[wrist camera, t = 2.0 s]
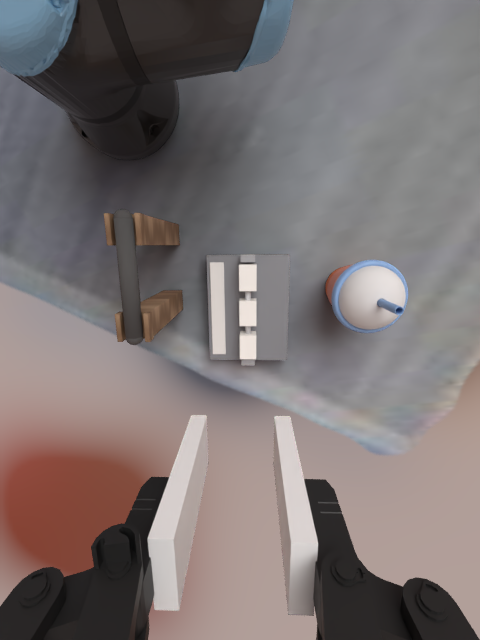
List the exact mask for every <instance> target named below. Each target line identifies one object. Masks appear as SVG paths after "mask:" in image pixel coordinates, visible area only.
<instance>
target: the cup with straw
mask: <svg viewBox="0 0 480 640" xmlns="http://www.w3.org/2000/svg"><path fill="white" fill-rule="evenodd" d="M325 290H326V294H327V297H328V299H329V301H330V303H331V305H332V308H333V311H334V313H335V315H336V317H337V319H338V320H339V321H340V322H341V323H342V324H343V325H344V326H346V327H347V328H349V329H351V330H353V331H356V332H360V333H374V332H378V331H381V330H384V329H386V328H388V327H389V326H391V325H392V324H393V323H395V322H396V321H397V320H398V319H399V317H400V316H401V315H402V314H403V312H404V309H405V307H406V304H407V300H408V288H407V284H406V281H405V279H404V277H403V275H402V274H401V273H400V271H399V270H398V269H397V268H395V267H394V266H393V265H391V264H389V263H387V262H384V261H380V260H365V261H361V262H358V263H356V264H354V265H348V266H345V267H342V268H339V269H337V270H335V271H334V272H333V273H331V275H330V276H329V277H328V279H327V282H326V287H325Z"/></svg>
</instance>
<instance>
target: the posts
mask: <svg viewBox="0 0 480 640" xmlns="http://www.w3.org/2000/svg"><path fill="white" fill-rule="evenodd" d="M131 215H132V217H133V224H134V235H135V245H180V243H179V225H178V224H175V223H171V222H168V221H164V220H160V219H157V218H153V217H150V216H146V215H144V214H141V213H134V214H131ZM113 217H114V214H109V213H104V220H105V229H106V239H107V245H116V239H115V229H114V219H113ZM140 304H141V315H142V326H143V338H145V342H151V341H152V340H153V339H154V336H155V335H156V334H157V333H158V332H159V331H160V330H161V329H162V328H163V327H164V326H165V325H166V324H168V323H169V322H170V321H171V320H172V319H173V318H174V317H175V316H176V315H177V314H178V313H179V312H180V311H181V310H183V298H182V290H171V291H161V292H160V293H158V294H156V295H154V296H152V297H150V298H148V299H146V300H144V301H142V302H140ZM115 321H116V330H117V339H118V342H123V341H124V340H125V339H126V336H125V327H124V317H123V312H118V313H116V314H115Z"/></svg>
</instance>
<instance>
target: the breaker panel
mask: <svg viewBox="0 0 480 640" xmlns="http://www.w3.org/2000/svg"><path fill="white" fill-rule="evenodd" d="M206 259H207V288H208V317H209V346H210V360H241V365H254V366H255V360H287V342H288V308H289V274H290V255H289V254H241V255H206ZM239 264H257V291H251V298H256V326H251V331H256V359H240V331H245V326H240V324H239V300H240V298H245V291H239Z"/></svg>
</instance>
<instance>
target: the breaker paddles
mask: <svg viewBox="0 0 480 640" xmlns="http://www.w3.org/2000/svg"><path fill="white" fill-rule="evenodd" d="M239 291H245V298H240V300H239V324H240V326H245V331H240V359H256V331H251V326H256V298H251V291H257V264H239Z"/></svg>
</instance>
